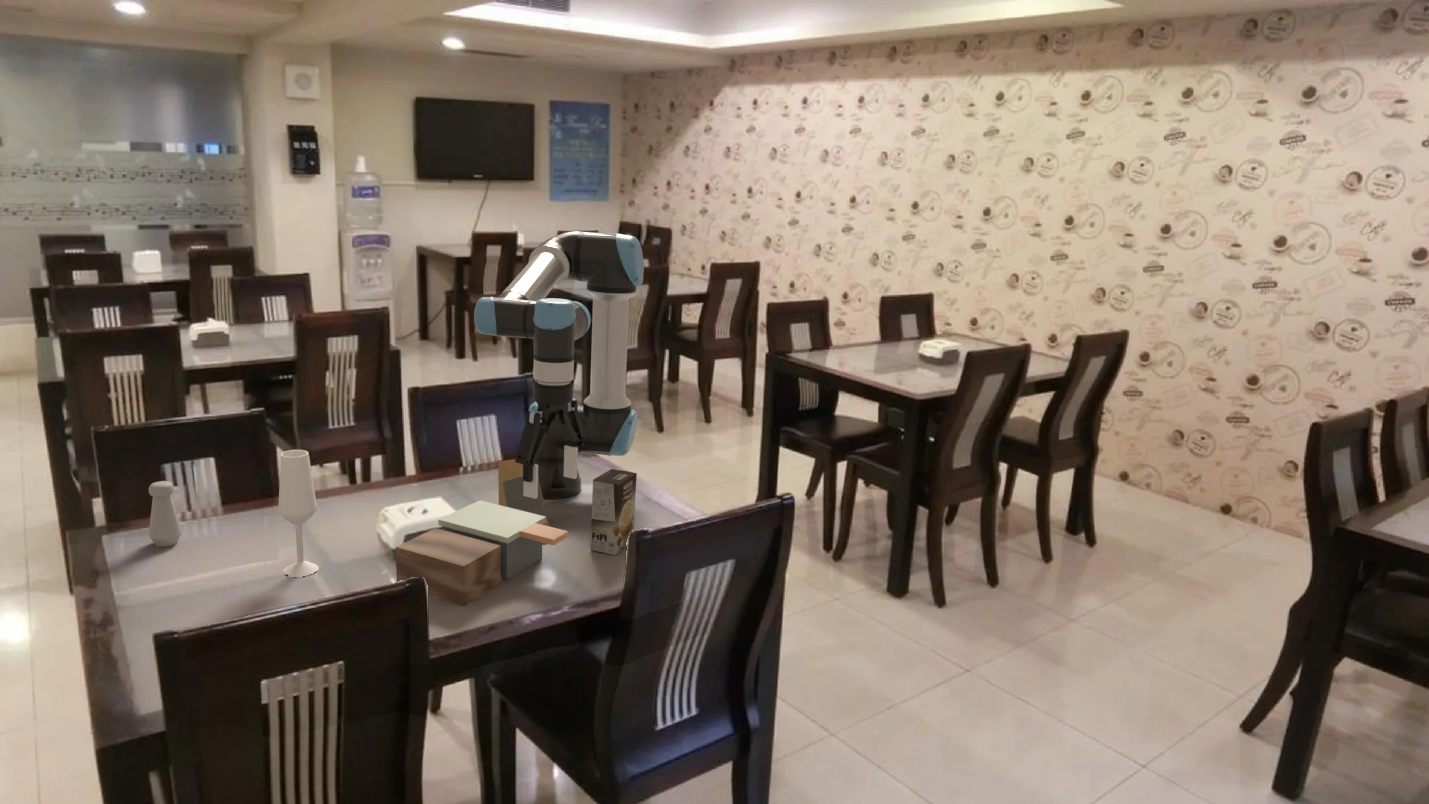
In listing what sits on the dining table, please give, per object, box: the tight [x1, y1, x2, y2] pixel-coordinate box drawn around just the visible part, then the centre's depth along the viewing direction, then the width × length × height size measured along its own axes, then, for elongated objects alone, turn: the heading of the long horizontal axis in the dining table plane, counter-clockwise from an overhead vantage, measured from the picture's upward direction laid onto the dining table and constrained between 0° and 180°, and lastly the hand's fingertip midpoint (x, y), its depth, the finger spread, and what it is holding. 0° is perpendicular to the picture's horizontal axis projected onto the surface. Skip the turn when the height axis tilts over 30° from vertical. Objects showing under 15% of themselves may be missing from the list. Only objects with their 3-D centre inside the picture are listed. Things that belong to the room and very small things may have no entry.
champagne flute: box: [278, 449, 320, 578], centre depth 176 cm, size 7×7×24 cm
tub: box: [441, 524, 543, 580], centre depth 188 cm, size 12×16×8 cm
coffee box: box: [589, 468, 638, 556], centre depth 198 cm, size 9×6×16 cm
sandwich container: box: [497, 459, 550, 546], centre depth 201 cm, size 9×15×15 cm, turn 27°
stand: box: [395, 527, 502, 607], centre depth 176 cm, size 11×16×8 cm
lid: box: [438, 499, 569, 546], centre depth 185 cm, size 13×25×1 cm, turn 66°
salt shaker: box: [148, 480, 183, 548], centre depth 185 cm, size 6×6×13 cm
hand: (551, 486), depth 178 cm, fingers open, 13 cm apart
